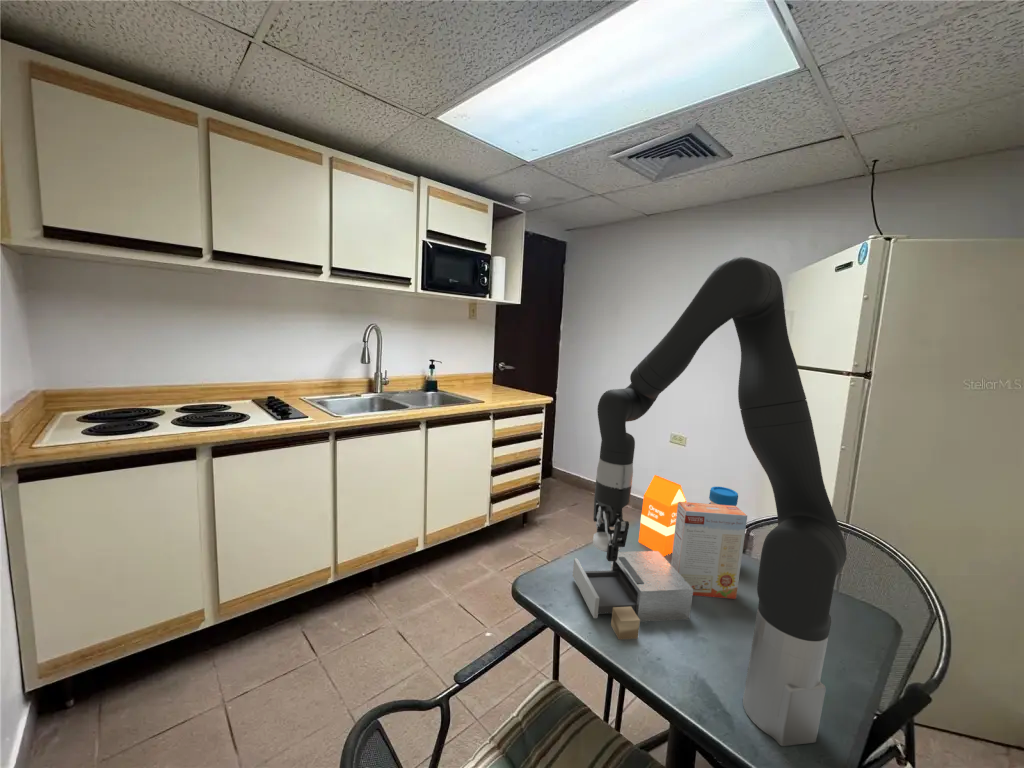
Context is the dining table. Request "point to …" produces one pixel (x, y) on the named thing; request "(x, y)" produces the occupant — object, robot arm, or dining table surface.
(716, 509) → the cracker box
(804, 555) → the robot arm
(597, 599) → the grey drawer
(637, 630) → the tan block
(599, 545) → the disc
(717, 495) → the beverage bottle
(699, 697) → the dining table surface
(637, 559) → the block
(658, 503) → the orange juice
